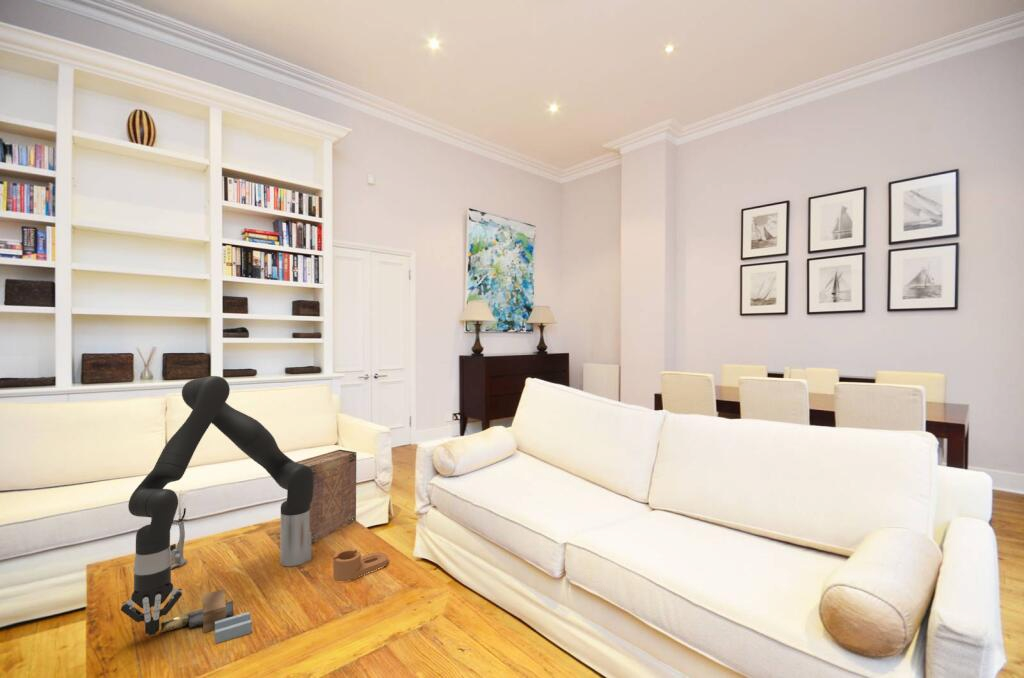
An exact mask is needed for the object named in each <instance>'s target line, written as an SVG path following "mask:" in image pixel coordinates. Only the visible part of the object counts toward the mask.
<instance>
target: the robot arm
mask: <svg viewBox="0 0 1024 678" xmlns="http://www.w3.org/2000/svg"><path fill="white" fill-rule="evenodd" d="M230 391H231V389H230V384H229V382H228V381H227V380H226V379H225V378H223V377H222V376H218V375H210V376H204V377H198V378H194V379H191V380H189V381H187V382H186V383H185V384H184V385H183V387H182V389H181V396H182V400H183V401H184V403H185V404H186V405H187V406H188V407H189V408H190V409H191V410H192V411H191V412H190V414H189V416H188V417H187V419H186V420H185V421H184V423H182V425H181V426H180V427H179V428H178V429H177V431H175V433H174V434H173V435H172V437H170V439H169V440H168V441H167V443H166V444H165V446H164V448H163V449H162V450H161V453H160V454H159V457H158V459H157V461H156V463H155V465H154V467H153V469H152V470H151V471H150V472H149V473H148V474H147V475H146V477H144V479H143V480H142V481H141V482H140V483H139V485H138V486H137V487H136V488H135V489H134V491H133V492H132V494H131V495H130V498H129V500H128V505H127V506H128V512H129V513H130V515H132V516H135V517H141V518H150V519H151V521H150V523H149V524H146V525H144V526H141V527H140V528H139V529H138V530H137V531H136V535H135V556H134V560H133V561H134V562H133V563H134V564H133V592H132V593H131V597H130V598H129V599H128V600H127V601H124V602H122V604H121V606H120V611H121V612H122V613H124V614H125V615H126V616H128V617H129V618H131V619H132V620H133V621H135V623H140V622H144V628H145V629H144V633H145V635H148V637H150V636H154V635H156V633H157V632H158V631H159V630H160V623H161V621H160V620H161V619H160V618H161V617H164V616H167V615H168V613H170V611H171V610H172V608H173V607H174V606H175V605H176V604H177V602H178V601H179V599H180V598H182V595H183V588H175V587H174V584H173V583H172V569H171V565H172V558H171V550H170V546H171V529H172V526H173V524H172V523H173V520H175V517H176V513H177V511H178V506H179V497H178V495H177V493H176V491H174V490H173V489H170V488H165V487H166V486H167V485H168V484H169V483H172V482H177V481H180V480H181V479H182V478H183V476H184V475H185V473H186V470H187V469H188V466H189V465H190V462H191V460H192V458H193V455H194V453H195V451H196V449H197V447H198V445H199V444H200V441H201V440H202V439H203V437H204V435H205V433H206V432H207V431H208V429H209V427H210V425H211V424H212V425H214V427H216V428H217V429H218V430H219V431H220V432H221V433H222V434H223V435H224V436H225V437H227V438H228V439H229V440H230V441H231V443H233V444H234V445H235V446H236V447H237V448H239V450H241V451H242V453H244V454H245V455H246V456H248V457H249V458H250V459H251V460H253V461H254V462H255V463H257V464H258V465H259V466H261V467H262V468H263V469H264V470H265V471H266V472H267V473H268V474H269V475H270V477H271V478H272V480H274V481H275V483H276V484H277V485H278V486H279V487H280V488H282V489H283V490H286V492H287V493H286V494H287V495H286V500H285V501H283V502H282V503H281V505H280V540H279V541H280V546H279V547H280V549H279V550H280V551H279V554H280V555H279V556H280V558H279V559H280V560H279V561H280V565H281V566H283V567H291V568H292V567H296V566H301V565H303V564H305V563H307V562H309V561H312V544H311V531H310V504H311V502H312V499H313V485H314V476H313V471H312V469H311V468H310V467H308V466H306V465H303V464H299V463H296V462H297V461H294V460H293V459H291V458H290V457H288V456H287V455H286V454H285V453H284V452H283V451H282V450H281V449H280V448H279V446H278V443H277V441H276V440H275V437H274V436H273V435H272V433H271V432H270V431H269V430H268V429H267V428H266V427H265V426H264V425H263V424H262V423H261V422H259V421H258V420H257V419H255V418H253V417H252V416H249V415H247V414H246V413H244V412H241V411H240V410H238V409H235V408H234V407H232V406H231V405H230V404H228V403H227V400H228V399H229V395H230ZM169 596H170V599H169V600H167V598H168V597H169ZM166 600H167V602H166V603H165V605H164V606H163V607H162V608H161V605H162V604H163V603H164V602H165V601H166ZM135 604H136V605H137V606H138V607H139V608H140V609H143V612H142V611H141V610H139V609H138V608H136V607H135ZM152 608H153V613H152Z"/></svg>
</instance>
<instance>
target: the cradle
mask: <svg viewBox="0 0 1024 678" xmlns="http://www.w3.org/2000/svg"><path fill="white" fill-rule="evenodd" d="M252 629H253V627H252V619H251V612H250V611H247V612H244V613H239V614H237V615H233V616H230V617H227V618H226V619H222V620H219V621H215V630H214V640H215V641H214V644H219V643H222V642H225V641H229V640H231V639H235V638H238V637H241V636H245V635H248V634H251V633H252Z"/></svg>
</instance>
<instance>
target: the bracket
mask: <svg viewBox="0 0 1024 678" xmlns="http://www.w3.org/2000/svg"><path fill="white" fill-rule="evenodd" d="M361 555H362V554H361V551H358V550H357V549H353V548H351V549H350V548H349V549H343V550H340V551H338V552H336V553H334V555H333V563H332V564H333V566H332V567H333V571H332V573H333V575H332V576H333V577H334V578H333V580H334V579H335V580H334V581H336V580H337V581H336V582H338V581H348V580H352V579H354V578H356V577H359V576H361V575H364V574H366V573H368V572H371V571H374V570H376V569H378V568H380V567H383V566H384V565H386V564H387V562H388V561H389V560H388V557H389V556H388V554H387V553H384V552H377V551H376V552H372V553H368V554H366V555H362V556H361ZM388 563H389V562H388ZM387 565H388V564H387ZM387 565H386V566H387ZM359 578H360V577H359ZM354 580H355V579H354ZM352 581H353V580H352ZM348 582H349V581H348Z"/></svg>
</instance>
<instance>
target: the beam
mask: <svg viewBox="0 0 1024 678" xmlns="http://www.w3.org/2000/svg"><path fill="white" fill-rule="evenodd" d="M225 603H226V596H225V589H220V590H216V591H212V592H208V593H204V594H202V609H203V625H202V632H203V633H207V632H211V631H215V621H219V620H222V619H226V604H225Z"/></svg>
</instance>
